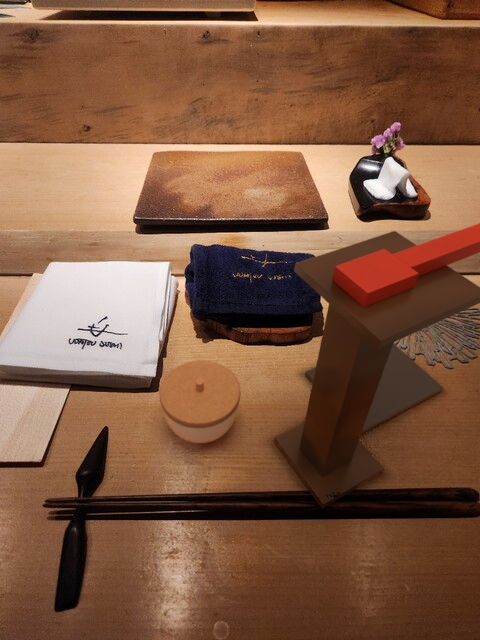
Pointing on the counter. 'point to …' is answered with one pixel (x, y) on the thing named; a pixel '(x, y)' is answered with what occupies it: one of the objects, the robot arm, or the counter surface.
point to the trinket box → (200, 400)
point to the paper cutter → (397, 388)
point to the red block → (403, 266)
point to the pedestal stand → (359, 364)
